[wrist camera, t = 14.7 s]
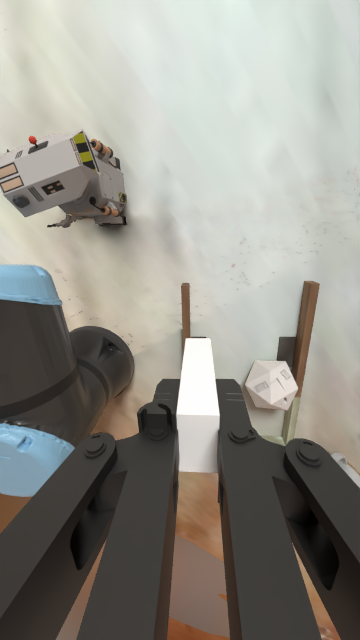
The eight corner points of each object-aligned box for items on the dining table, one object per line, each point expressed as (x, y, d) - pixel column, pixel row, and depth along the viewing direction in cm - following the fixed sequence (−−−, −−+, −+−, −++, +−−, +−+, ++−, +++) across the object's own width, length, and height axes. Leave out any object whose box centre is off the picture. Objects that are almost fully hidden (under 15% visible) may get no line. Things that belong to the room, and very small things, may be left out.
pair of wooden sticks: (186, 437, 51) (186, 447, 48) (182, 283, 40) (181, 286, 37) (286, 441, 49) (291, 451, 47) (312, 281, 38) (319, 283, 35)
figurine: (56, 165, 35) (-40, 114, 21) (130, 159, 34) (82, 103, 20) (68, 229, 38) (-9, 223, 24) (136, 225, 37) (98, 217, 23)
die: (281, 344, 39) (320, 399, 36) (268, 352, 48) (298, 397, 45) (238, 369, 39) (273, 426, 36) (232, 372, 47) (261, 419, 44)
